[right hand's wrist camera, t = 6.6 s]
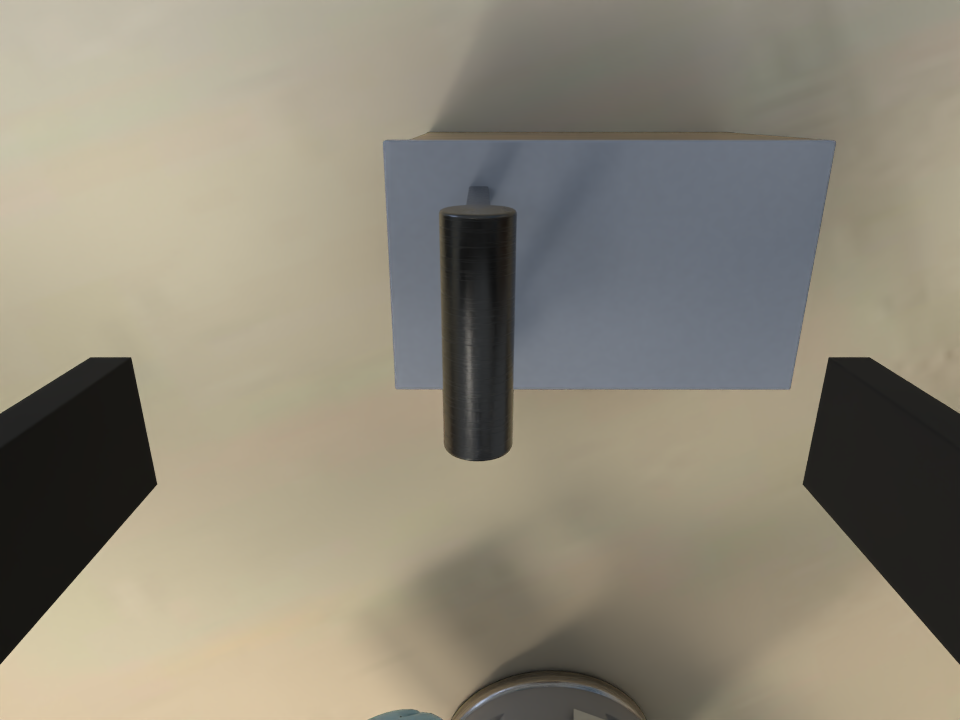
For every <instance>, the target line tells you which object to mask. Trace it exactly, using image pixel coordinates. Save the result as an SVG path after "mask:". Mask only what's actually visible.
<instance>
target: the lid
mask: <svg viewBox="0 0 960 720" xmlns="http://www.w3.org/2000/svg"><path fill="white" fill-rule="evenodd" d="M835 145H836V141H834V140H385V141H384V142H383V151H384V171H385V191H386V211H387V230H388V250H389V270H390V290H391V309H392V329H393V349H394V368H395V387H396V389H443V421H444V446H445V448H446V450H447V451H448V452H449V453H450V454H451V455H453V456H455V457H457V458H460V459H464V460H469V461H487V460H493V459H496V458H499V457H501V456H503V455H505V454H506V453H508V452H509V450H510V449H511V447H512V431H513V389H790V387H791V382H792V376H793V371H794V366H795V360H796V355H797V350H798V344H799V339H800V333H801V328H802V323H803V317H804V312H805V307H806V301H807V296H808V290H809V285H810V280H811V274H812V269H813V264H814V258H815V253H816V247H817V242H818V237H819V231H820V226H821V220H822V215H823V210H824V204H825V199H826V194H827V188H828V183H829V177H830V172H831V167H832V161H833V156H834V151H835Z"/></svg>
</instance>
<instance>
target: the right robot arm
mask: <svg viewBox="0 0 960 720" xmlns="http://www.w3.org/2000/svg"><path fill="white" fill-rule="evenodd" d="M156 485H157V481H156V476H155V471H154V466H153V461H152V457H151V452H150V447H149V442H148V437H147V432H146V427H145V422H144V418H143V413H142V408H141V403H140V398H139V393H138V388H137V383H136V379H135V374H134V369H133V364H132V359H131V357H90V358H89V359H87V360H86V361H84V362H82V363H81V364H79V365H78V366H76V367H74V368H73V369H71V370H70V371H68V372H66V373H65V374H63V375H62V376H60V377H58V378H57V379H55V380H54V381H52V382H50V383H49V384H47V385H46V386H44V387H42V388H41V389H39V390H38V391H36V392H34V393H33V394H31V395H30V396H28V397H26V398H25V399H23V400H22V401H20V402H18V403H17V404H15V405H14V406H12V407H10V408H9V409H7V410H6V411H4V412H2V413H1V414H0V664H1V663H2V662H3V661H4V660H5V658H6V657H7V656H8V655H9V654H10V653H11V652H12V650H13V649H14V648H15V647H16V646H17V645H18V644H19V642H20V641H21V640H22V639H23V638H24V637H25V635H26V634H27V633H28V632H29V631H30V630H31V629H32V627H33V626H34V625H35V624H36V623H37V622H38V621H39V619H40V618H41V617H42V616H43V615H44V614H45V613H46V611H47V610H48V609H49V608H50V607H51V606H52V605H53V603H54V602H55V601H56V600H57V599H58V598H59V596H60V595H61V594H62V593H63V592H64V591H65V590H66V588H67V587H68V586H69V585H70V584H71V583H72V582H73V580H74V579H75V578H76V577H77V576H78V575H79V574H80V572H81V571H82V570H83V569H84V568H85V567H86V565H87V564H88V563H89V562H90V561H91V560H92V559H93V557H94V556H95V555H96V554H97V553H98V552H99V551H100V549H101V548H102V547H103V546H104V545H105V544H106V543H107V541H108V540H109V539H110V538H111V537H112V536H113V535H114V533H115V532H116V531H117V530H118V529H119V528H120V526H121V525H122V524H123V523H124V522H125V521H126V520H127V518H128V517H129V516H130V515H131V514H132V513H133V512H134V510H135V509H136V508H137V507H138V506H139V505H140V504H141V502H142V501H143V500H144V499H145V498H146V497H147V496H148V494H149V493H150V492H151V491H152V490H153V489H154V487H155V486H156ZM803 485H804V486H805V487H806V489H807V490H808V491H809V492H810V493H811V494H812V496H813V497H814V498H815V499H816V500H817V501H818V502H819V504H820V505H821V506H822V507H823V508H824V509H825V510H826V512H827V513H828V514H829V515H830V516H831V517H832V518H833V520H834V521H835V522H836V523H837V524H838V525H839V526H840V528H841V529H842V530H843V531H844V532H845V533H846V535H847V536H848V537H849V538H850V539H851V540H852V541H853V543H854V544H855V545H856V546H857V547H858V548H859V549H860V551H861V552H862V553H863V554H864V555H865V556H866V557H867V559H868V560H869V561H870V562H871V563H872V564H873V566H874V567H875V568H876V569H877V570H878V571H879V572H880V574H881V575H882V576H883V577H884V578H885V579H886V580H887V582H888V583H889V584H890V585H891V586H892V587H893V588H894V590H895V591H896V592H897V593H898V594H899V595H900V596H901V598H902V599H903V600H904V601H905V602H906V603H907V605H908V606H909V607H910V608H911V609H912V610H913V611H914V613H915V614H916V615H917V616H918V617H919V618H920V619H921V621H922V622H923V623H924V624H925V625H926V626H927V627H928V629H929V630H930V631H931V632H932V633H933V634H934V635H935V637H936V638H937V639H938V640H939V641H940V642H941V644H942V645H943V646H944V647H945V648H946V649H947V650H948V652H949V653H950V654H951V655H952V656H953V657H954V658H955V660H956V661H957V662H958V663H959V664H960V414H959V413H958V412H956V411H954V410H953V409H951V408H950V407H948V406H946V405H945V404H943V403H942V402H940V401H938V400H937V399H935V398H934V397H932V396H930V395H929V394H927V393H926V392H924V391H922V390H921V389H919V388H918V387H916V386H914V385H913V384H911V383H910V382H908V381H906V380H905V379H903V378H902V377H900V376H898V375H897V374H895V373H894V372H892V371H890V370H889V369H887V368H886V367H884V366H882V365H881V364H879V363H878V362H876V361H874V360H873V359H871V358H870V357H829V359H828V364H827V369H826V374H825V379H824V383H823V388H822V393H821V398H820V403H819V408H818V413H817V418H816V422H815V427H814V432H813V437H812V442H811V447H810V452H809V457H808V461H807V466H806V471H805V476H804V481H803Z"/></svg>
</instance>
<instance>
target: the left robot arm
mask: <svg viewBox="0 0 960 720" xmlns="http://www.w3.org/2000/svg"><path fill="white" fill-rule="evenodd" d="M368 720H443V719H441V718H440V717H438V716H436V715H434V714H432V713H424V712H422V713H420V712H419V711H417V710H413V709H404V710H396V711H391V712H387V713H384V714H381V715H378V716H375V717H373V718H370V719H368ZM451 720H646V718H645V716H644V714H643V713H642V711H641V710H640V708H639V707H638V706H637V705H636V703H635V702H634V701H633V700H632V699H631V698H629V697H628V696H627V695H626V694H625V693H623V692H622V691H621V690H619V689H617V688H616V687H614V686H612V685H610V684H608V683H606V682H604V681H602V680H599V679H596V678H594V677H590V676H587V675H583V674H578V673H573V672H564V671H539V672H530V673H524V674H519V675H515V676H512V677H508V678H505V679H503V680H500V681H498V682H495V683H493V684H491V685H489V686H487V687H485V688H484V689H482V690H480V691H479V692H477V693H476V694H474V695H473V696H472V697H471V698H469V699H468V700H467V701H466V702H465V703H464V704H463V705H462V706H461V707H460V708H459V709H458V711H457V712H456V713H455V714H454V716H453V718H452V719H451Z"/></svg>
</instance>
